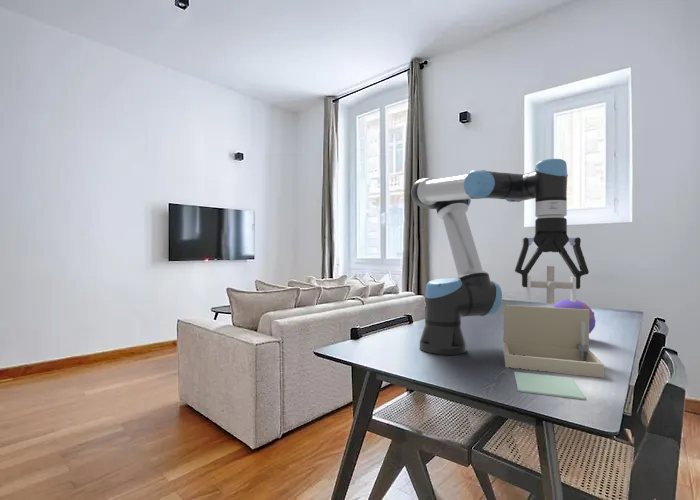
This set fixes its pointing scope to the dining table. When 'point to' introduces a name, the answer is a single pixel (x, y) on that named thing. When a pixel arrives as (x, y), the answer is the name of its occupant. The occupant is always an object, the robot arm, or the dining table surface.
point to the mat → (548, 385)
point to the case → (549, 340)
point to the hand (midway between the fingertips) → (550, 300)
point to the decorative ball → (577, 305)
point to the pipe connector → (551, 284)
